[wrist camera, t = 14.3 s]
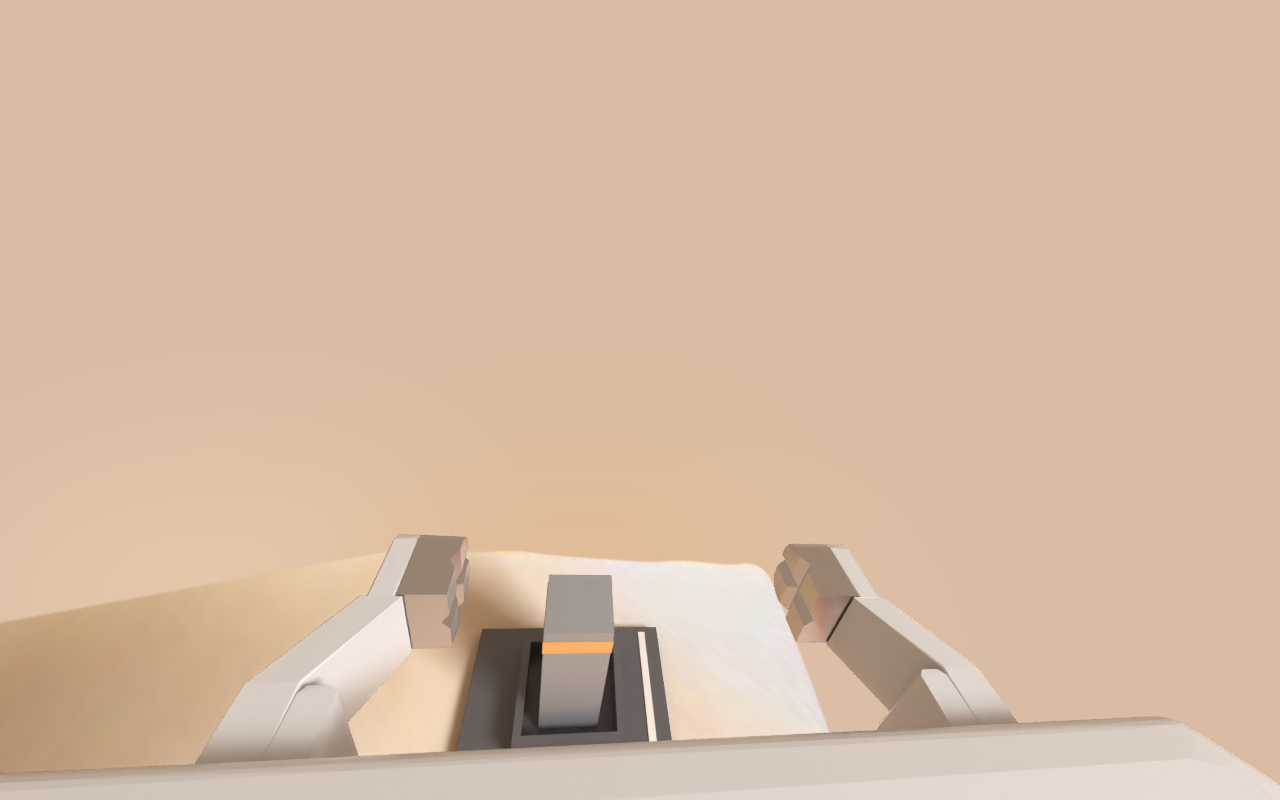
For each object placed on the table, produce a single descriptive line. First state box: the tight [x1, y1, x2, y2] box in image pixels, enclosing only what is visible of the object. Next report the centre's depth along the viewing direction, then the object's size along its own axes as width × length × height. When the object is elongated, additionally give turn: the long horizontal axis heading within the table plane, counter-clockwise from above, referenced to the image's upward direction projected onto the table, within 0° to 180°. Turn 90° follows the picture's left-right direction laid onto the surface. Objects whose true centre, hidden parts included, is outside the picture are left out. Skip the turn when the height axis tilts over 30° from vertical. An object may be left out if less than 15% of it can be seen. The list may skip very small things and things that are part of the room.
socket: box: [457, 627, 672, 751], centre depth 37 cm, size 16×12×3 cm
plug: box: [538, 575, 614, 729], centre depth 34 cm, size 5×5×12 cm
